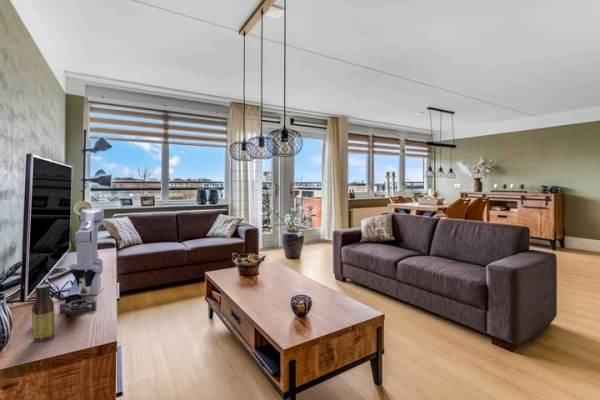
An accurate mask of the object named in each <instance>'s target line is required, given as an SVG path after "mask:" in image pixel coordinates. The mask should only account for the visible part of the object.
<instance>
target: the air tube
mask: <svg viewBox="0 0 600 400" xmlns="http://www.w3.org/2000/svg"><path fill="white" fill-rule="evenodd" d="M78 287H79V288H78V291H79V293H78V294H79V295H80V294H87V293H89V292H90V286H89V287H86V283H85V277H80V278H79V286H78Z"/></svg>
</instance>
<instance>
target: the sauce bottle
mask: <svg viewBox="0 0 600 400" xmlns="http://www.w3.org/2000/svg"><path fill="white" fill-rule="evenodd" d="M34 289H35V300H34V303H33V306H32V307H31V318H32V321H31V322H32V338H33V339H32V340H33V341H34V342H38V343H39V342H45V341H49V340H50V339H52V338H54V337H55V334H56V333H55V331H56V323H55V321H56V319H55V315H56V314H55V303H54V300H53V298H50V297H51V295H50V289H51V284H47V283H44V284H39V285H36V286H35V288H34Z"/></svg>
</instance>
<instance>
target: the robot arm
mask: <svg viewBox="0 0 600 400" xmlns="http://www.w3.org/2000/svg"><path fill="white" fill-rule="evenodd" d="M104 213H105V211H104V209H103V208H81V209H80V212H79V217H80V221H81V224H80V225H79V229H78V230H77V231H76V232H75V235H74V240H75V247H76V263H75V264H70V265H69V270H73V271H71V275H72V276H73V277H74V279H75V282H76V285H77V287H79V278H80V277H85V283H86V287H89V286H90V292H89V293H87V294H83V295H82V296H92V295H93V296H94V295H99V294H100V293H101V292H102V291H103V289H104V287H102V277H101V275H102V274H103V273H104V262H103V259H102V258H100V257H98V239H99V238H98V235H99V232H98V231H99V228H100V226H102V225H103V223H104V218H105V216H104V215H105V214H104Z"/></svg>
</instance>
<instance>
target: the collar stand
mask: <svg viewBox="0 0 600 400" xmlns="http://www.w3.org/2000/svg"><path fill="white" fill-rule="evenodd" d="M97 309H98V300H97V299H95V300H94V299H93V300H92V301H90V300H89V299H76V300H73V301H70V302H68V303H66V302H61V303H59V308H58V310H59V311H58V312H59V313H58V314H61V315H62V314H65V313H66V314H68V315H70V316H72V315H73V316H74V315H81V314H84V313H87V312H88V311H91V312H92V311H94V312H95V311H96V310H97Z"/></svg>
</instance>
